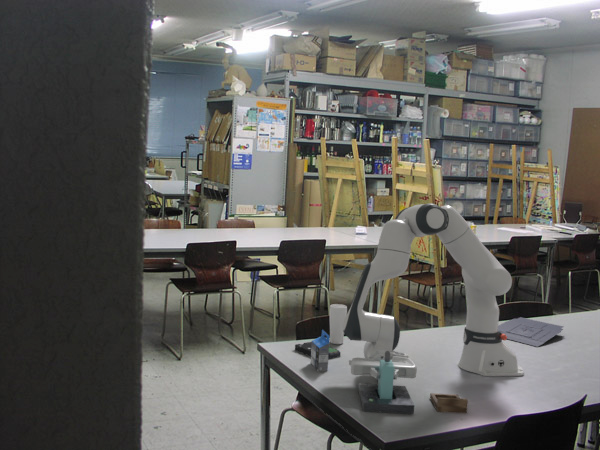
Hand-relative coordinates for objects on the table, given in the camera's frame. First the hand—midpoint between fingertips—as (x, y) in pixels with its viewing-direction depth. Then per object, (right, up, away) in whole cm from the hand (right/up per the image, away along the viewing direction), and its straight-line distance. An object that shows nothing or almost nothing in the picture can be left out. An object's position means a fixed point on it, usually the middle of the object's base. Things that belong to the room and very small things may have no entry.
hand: (386, 376), depth 187 cm
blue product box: (-19, -4, +31) cm, 37 cm away
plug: (0, -6, +1) cm, 6 cm away
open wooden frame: (+19, -9, +1) cm, 21 cm away
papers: (+74, -4, +89) cm, 116 cm away
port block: (0, -8, +1) cm, 8 cm away
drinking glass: (-11, -2, +62) cm, 63 cm away
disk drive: (-19, -3, +47) cm, 51 cm away
